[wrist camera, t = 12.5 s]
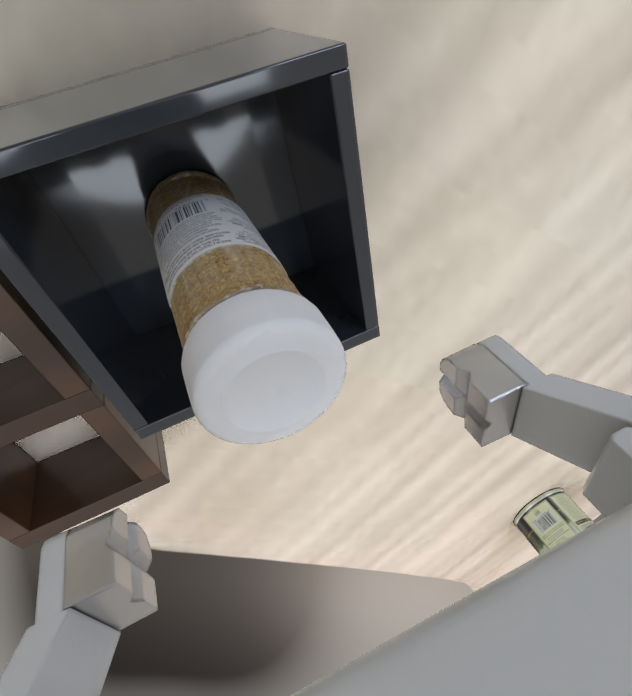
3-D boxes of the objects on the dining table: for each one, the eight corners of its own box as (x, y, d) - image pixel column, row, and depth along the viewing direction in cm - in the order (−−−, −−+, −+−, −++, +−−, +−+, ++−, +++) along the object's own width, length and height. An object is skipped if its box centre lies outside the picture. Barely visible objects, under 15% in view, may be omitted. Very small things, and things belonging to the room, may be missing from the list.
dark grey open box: (-25, 114, 17) (-81, 173, 11) (272, 27, 18) (347, 41, 13) (130, 343, 25) (141, 440, 20) (322, 267, 27) (380, 336, 22)
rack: (-238, 272, 17) (-326, 346, 13) (-8, 197, 18) (-32, 246, 15) (31, 479, 28) (22, 549, 25) (160, 423, 30) (170, 482, 26)
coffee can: (540, 519, 79) (605, 596, 69) (503, 529, 74) (567, 613, 64) (574, 483, 74) (650, 561, 64) (536, 491, 69) (612, 577, 59)
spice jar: (172, 269, 23) (232, 472, 13) (125, 189, 20) (157, 378, 10) (251, 235, 23) (363, 405, 14) (217, 150, 20) (333, 295, 10)
